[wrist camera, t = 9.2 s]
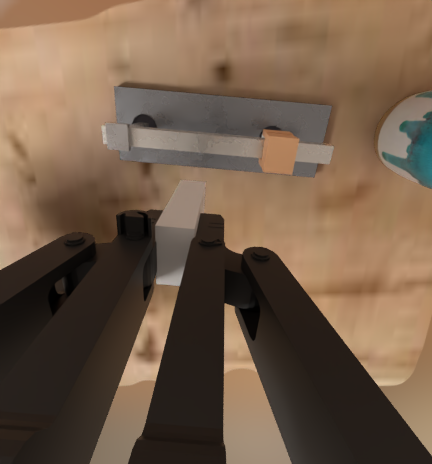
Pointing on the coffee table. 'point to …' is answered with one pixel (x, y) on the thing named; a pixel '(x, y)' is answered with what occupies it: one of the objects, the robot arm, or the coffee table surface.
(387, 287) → the coffee table surface
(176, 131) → the bar
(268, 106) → the flange plate
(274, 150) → the block
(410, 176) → the vase
